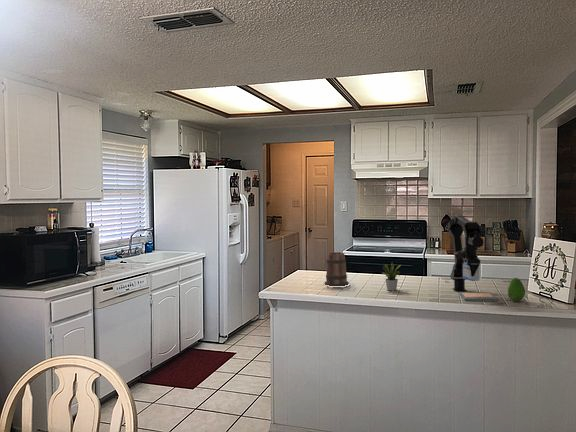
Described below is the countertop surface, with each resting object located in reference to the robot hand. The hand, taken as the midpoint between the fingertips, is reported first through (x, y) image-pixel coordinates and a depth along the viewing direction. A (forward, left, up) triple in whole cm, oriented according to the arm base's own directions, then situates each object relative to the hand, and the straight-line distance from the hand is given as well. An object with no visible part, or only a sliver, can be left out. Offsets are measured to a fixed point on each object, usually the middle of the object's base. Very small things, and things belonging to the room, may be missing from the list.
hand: (471, 275), depth 257 cm
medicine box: (0, 0, -3) cm, 3 cm away
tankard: (-35, -73, -12) cm, 82 cm away
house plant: (-18, -42, -12) cm, 47 cm away
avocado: (+8, +20, -12) cm, 25 cm away
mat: (0, +3, -12) cm, 12 cm away
